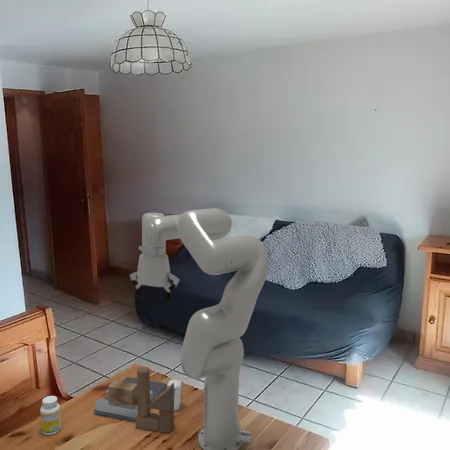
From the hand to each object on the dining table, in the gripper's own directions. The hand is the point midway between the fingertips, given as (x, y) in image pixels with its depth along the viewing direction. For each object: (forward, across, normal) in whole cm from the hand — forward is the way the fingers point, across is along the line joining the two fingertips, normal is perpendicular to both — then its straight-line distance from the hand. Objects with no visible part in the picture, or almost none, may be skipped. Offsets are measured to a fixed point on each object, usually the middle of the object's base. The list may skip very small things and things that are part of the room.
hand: (154, 300), depth 153 cm
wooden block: (+31, +10, -22) cm, 39 cm away
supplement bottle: (+31, -18, -32) cm, 48 cm away
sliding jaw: (+29, -3, -13) cm, 32 cm away
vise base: (+30, -3, -11) cm, 32 cm away
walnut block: (+29, -3, -17) cm, 34 cm away
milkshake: (+31, +12, -11) cm, 35 cm away
